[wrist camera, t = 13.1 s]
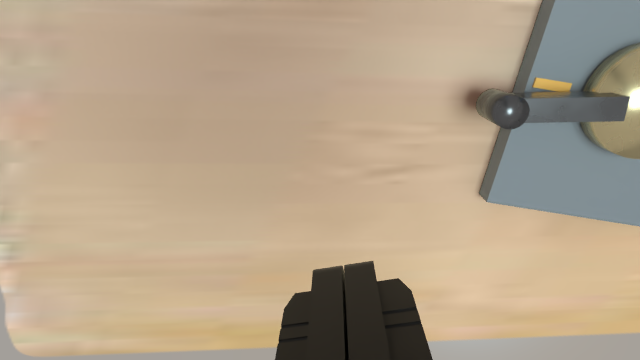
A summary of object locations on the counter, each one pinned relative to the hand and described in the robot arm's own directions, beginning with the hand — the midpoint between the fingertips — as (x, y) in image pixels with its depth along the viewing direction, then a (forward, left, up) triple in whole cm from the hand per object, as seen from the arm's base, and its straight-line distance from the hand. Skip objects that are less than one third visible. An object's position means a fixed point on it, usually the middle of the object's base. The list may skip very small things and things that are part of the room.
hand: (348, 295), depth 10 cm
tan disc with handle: (-4, +20, -25) cm, 32 cm away
